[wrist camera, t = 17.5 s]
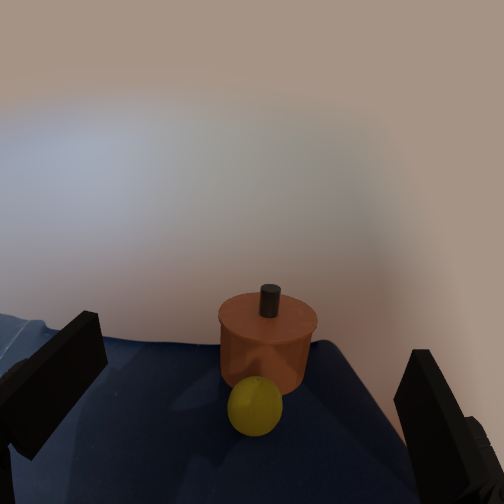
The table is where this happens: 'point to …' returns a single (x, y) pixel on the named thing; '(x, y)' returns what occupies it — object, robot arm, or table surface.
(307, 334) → the pot lid
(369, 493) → the table surface
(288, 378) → the pot
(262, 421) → the lemon
